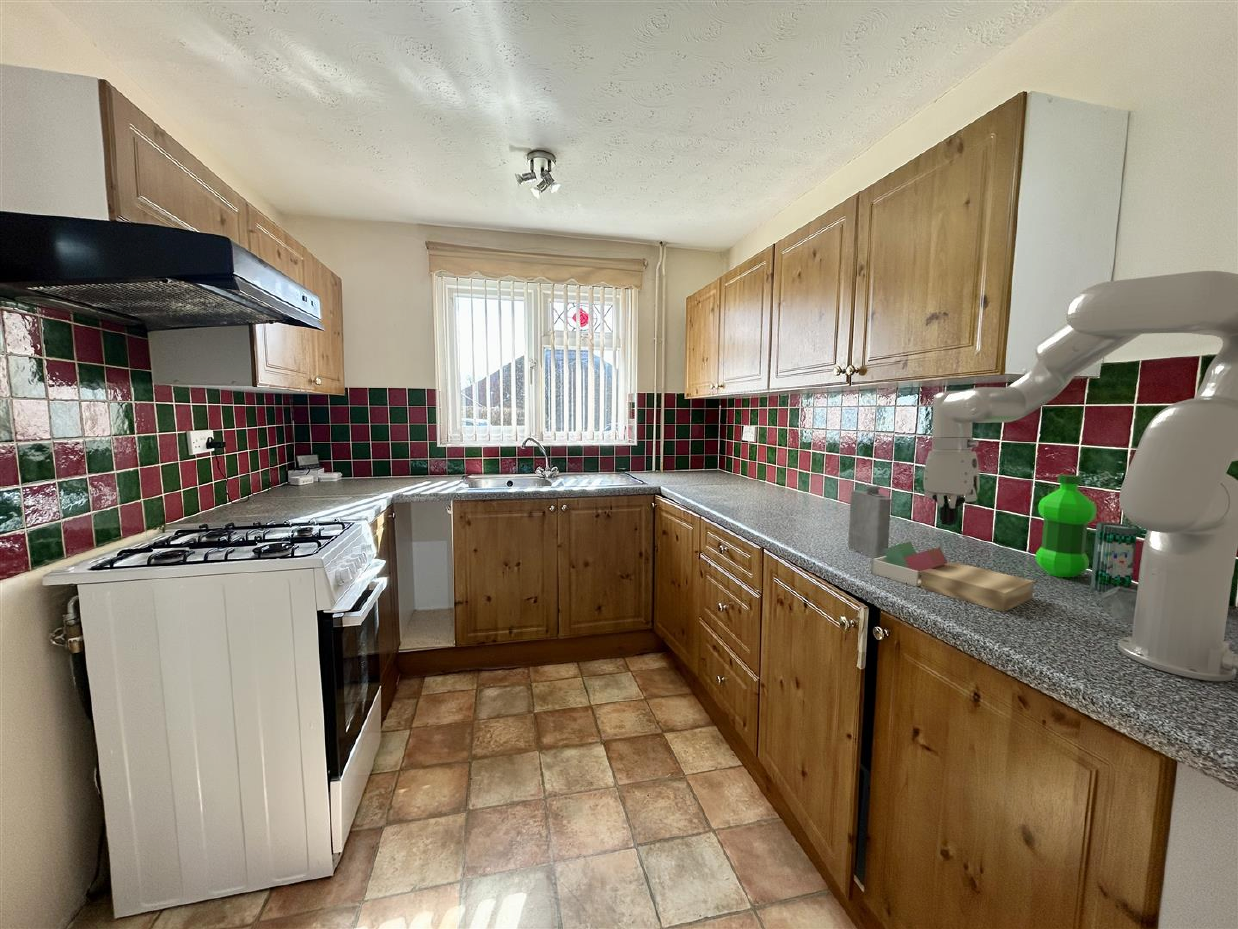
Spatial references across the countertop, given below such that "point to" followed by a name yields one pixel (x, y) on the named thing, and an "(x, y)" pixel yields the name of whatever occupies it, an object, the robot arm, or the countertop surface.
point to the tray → (895, 571)
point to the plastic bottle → (1065, 529)
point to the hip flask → (869, 522)
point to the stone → (1120, 603)
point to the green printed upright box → (1113, 556)
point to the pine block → (978, 585)
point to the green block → (899, 553)
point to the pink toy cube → (926, 560)
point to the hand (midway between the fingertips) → (948, 524)
